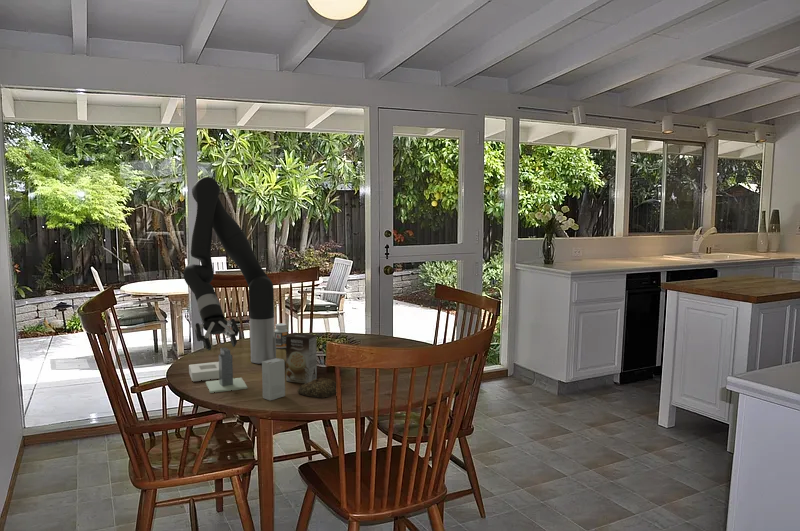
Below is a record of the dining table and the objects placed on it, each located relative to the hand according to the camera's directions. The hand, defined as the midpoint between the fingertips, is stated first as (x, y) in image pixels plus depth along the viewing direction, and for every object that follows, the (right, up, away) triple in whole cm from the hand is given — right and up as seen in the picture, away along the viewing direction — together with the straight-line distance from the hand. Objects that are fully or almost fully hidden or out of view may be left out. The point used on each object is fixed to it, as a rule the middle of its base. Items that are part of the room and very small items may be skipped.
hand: (222, 347), depth 209 cm
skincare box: (+21, -14, -15) cm, 29 cm away
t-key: (+2, -12, -3) cm, 13 cm away
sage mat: (+2, -13, -3) cm, 13 cm away
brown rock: (+35, -14, -9) cm, 38 cm away
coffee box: (+27, -12, +4) cm, 29 cm away
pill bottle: (+10, -7, +53) cm, 55 cm away
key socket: (-8, -11, +10) cm, 17 cm away
